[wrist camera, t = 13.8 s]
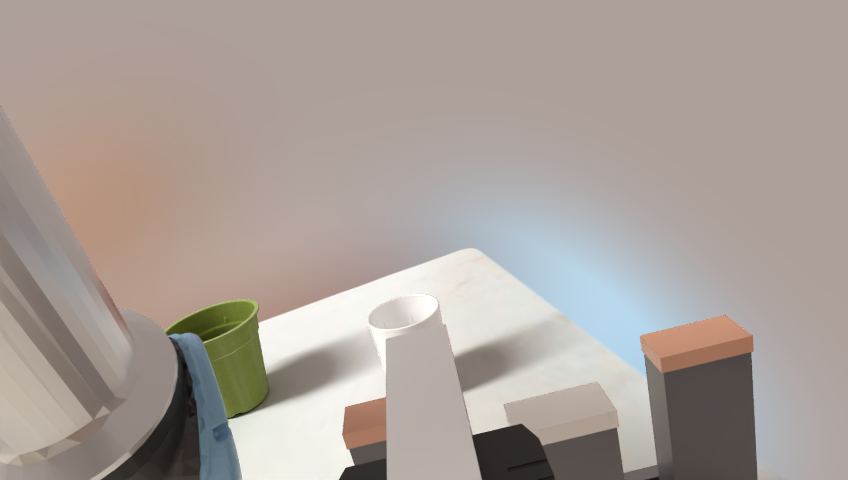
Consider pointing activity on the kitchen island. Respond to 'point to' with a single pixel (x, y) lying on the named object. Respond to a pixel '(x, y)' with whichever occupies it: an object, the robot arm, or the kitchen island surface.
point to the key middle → (573, 431)
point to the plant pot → (231, 350)
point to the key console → (643, 474)
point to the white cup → (402, 319)
